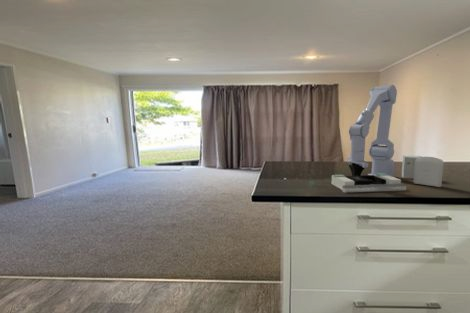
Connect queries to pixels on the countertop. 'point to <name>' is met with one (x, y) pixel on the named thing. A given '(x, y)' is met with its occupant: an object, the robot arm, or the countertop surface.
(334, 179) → the block
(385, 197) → the countertop surface
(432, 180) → the photo printer
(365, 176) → the battery charger
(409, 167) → the small box
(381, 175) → the block
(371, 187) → the rail
